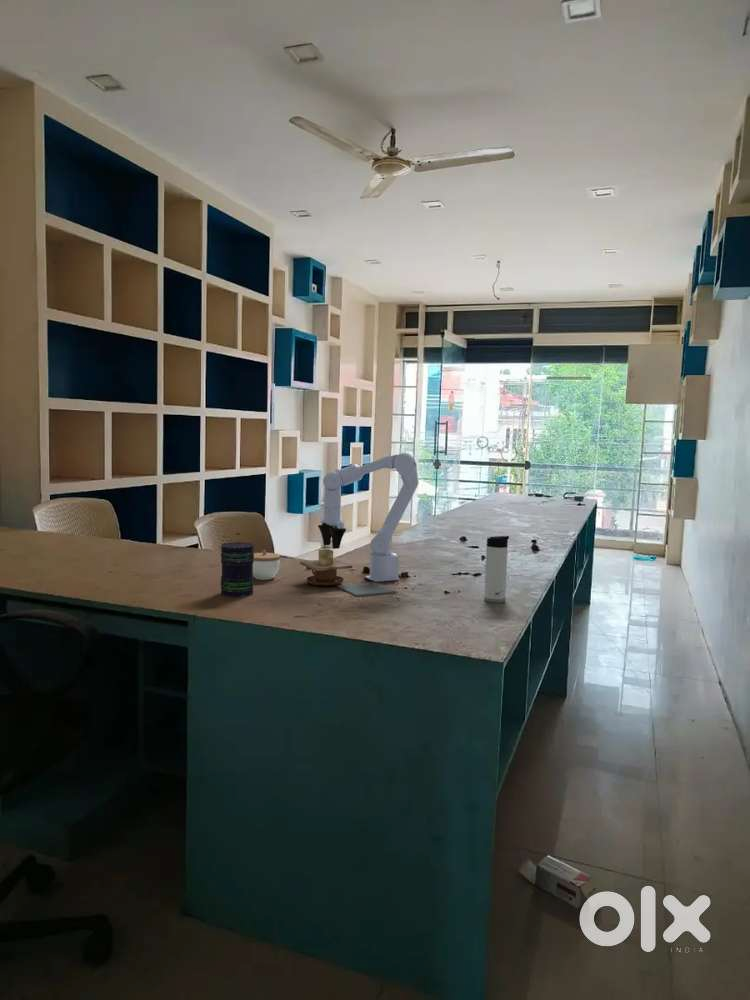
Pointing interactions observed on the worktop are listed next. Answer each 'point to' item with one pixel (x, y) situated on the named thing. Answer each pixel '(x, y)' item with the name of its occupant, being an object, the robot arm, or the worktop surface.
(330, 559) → the lid
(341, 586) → the mat
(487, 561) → the travel mug
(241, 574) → the storage jar
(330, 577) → the cup and saucer
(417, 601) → the worktop surface
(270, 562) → the lidded jar
